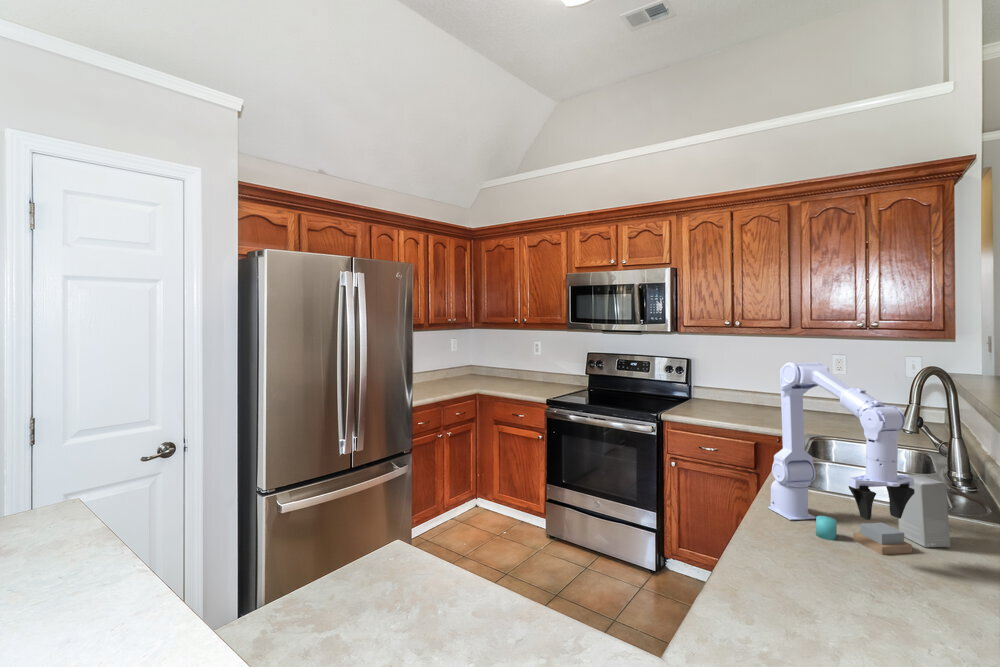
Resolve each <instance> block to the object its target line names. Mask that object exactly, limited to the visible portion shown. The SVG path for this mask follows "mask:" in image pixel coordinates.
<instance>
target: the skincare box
mask: <svg viewBox="0 0 1000 667" xmlns="http://www.w3.org/2000/svg"><path fill="white" fill-rule="evenodd" d="M898 475H899V474H898ZM899 476H909V477H912V478H914V486H909V487H910V488H913V489H914V490H915V492H914V495H913V496H912V497H911V498H910V499H909V501H908V502H907V504H906V506H905V508H904V511H903V514H902V517H901V518H899V519H898V518H897V519H898V530H899V531H902V532H904V538H906V539H908V540H910V541H912V542H914V543H916V544H918V545H919V546H921V547H924V548H950V546H951V537H950V522H949V510H948V495H947V493H948V492H947V483H946V482H944V481H940V480H937V479H933V478H931V477H928V476H925V475H923V474H919V473H918V474H900V475H899Z"/></svg>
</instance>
